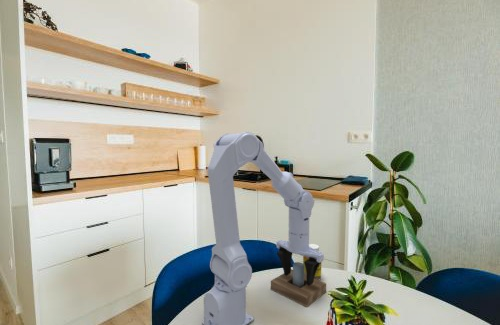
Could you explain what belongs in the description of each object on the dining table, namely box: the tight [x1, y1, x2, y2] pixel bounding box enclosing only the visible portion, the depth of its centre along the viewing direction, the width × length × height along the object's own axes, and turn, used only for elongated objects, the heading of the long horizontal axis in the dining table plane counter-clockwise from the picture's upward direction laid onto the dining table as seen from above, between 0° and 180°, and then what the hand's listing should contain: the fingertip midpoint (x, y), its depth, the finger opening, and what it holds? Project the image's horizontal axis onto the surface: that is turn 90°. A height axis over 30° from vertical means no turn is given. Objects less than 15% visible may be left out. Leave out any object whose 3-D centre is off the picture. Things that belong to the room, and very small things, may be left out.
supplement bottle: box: [302, 243, 322, 281], centre depth 80 cm, size 6×6×10 cm
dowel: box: [292, 261, 304, 288], centre depth 73 cm, size 3×3×7 cm
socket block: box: [270, 268, 327, 308], centre depth 73 cm, size 10×12×2 cm
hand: (298, 278), depth 73 cm, fingers open, 7 cm apart
